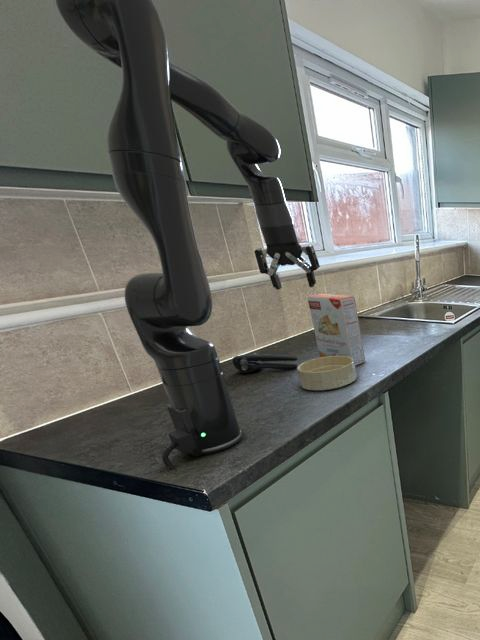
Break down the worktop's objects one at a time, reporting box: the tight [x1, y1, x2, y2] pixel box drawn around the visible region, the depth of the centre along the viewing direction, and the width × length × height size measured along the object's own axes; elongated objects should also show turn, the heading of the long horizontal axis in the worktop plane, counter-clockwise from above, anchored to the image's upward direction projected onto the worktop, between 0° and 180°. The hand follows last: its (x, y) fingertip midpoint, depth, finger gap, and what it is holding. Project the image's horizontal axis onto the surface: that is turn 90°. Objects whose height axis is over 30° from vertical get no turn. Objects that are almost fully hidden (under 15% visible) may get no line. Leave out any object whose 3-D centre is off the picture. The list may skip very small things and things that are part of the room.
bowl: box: [296, 356, 358, 391], centre depth 113 cm, size 14×14×6 cm
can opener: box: [232, 352, 298, 374], centre depth 124 cm, size 18×7×6 cm, turn 99°
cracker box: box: [306, 293, 366, 367], centre depth 126 cm, size 14×6×21 cm, turn 62°
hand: (295, 287), depth 111 cm, fingers open, 8 cm apart
